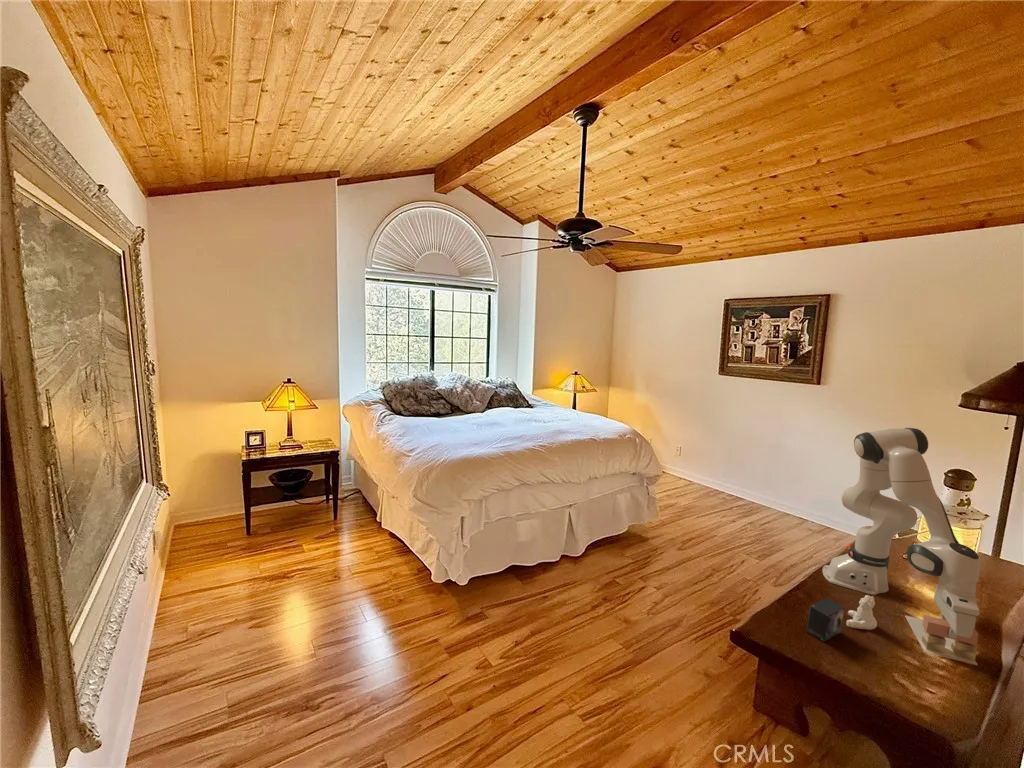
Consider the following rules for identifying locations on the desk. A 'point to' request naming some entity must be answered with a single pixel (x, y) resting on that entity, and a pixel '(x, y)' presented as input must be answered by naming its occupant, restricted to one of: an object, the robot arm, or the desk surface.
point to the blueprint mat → (948, 652)
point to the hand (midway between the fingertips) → (948, 631)
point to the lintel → (945, 629)
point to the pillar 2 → (964, 650)
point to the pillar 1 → (933, 642)
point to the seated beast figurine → (863, 615)
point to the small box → (825, 619)
